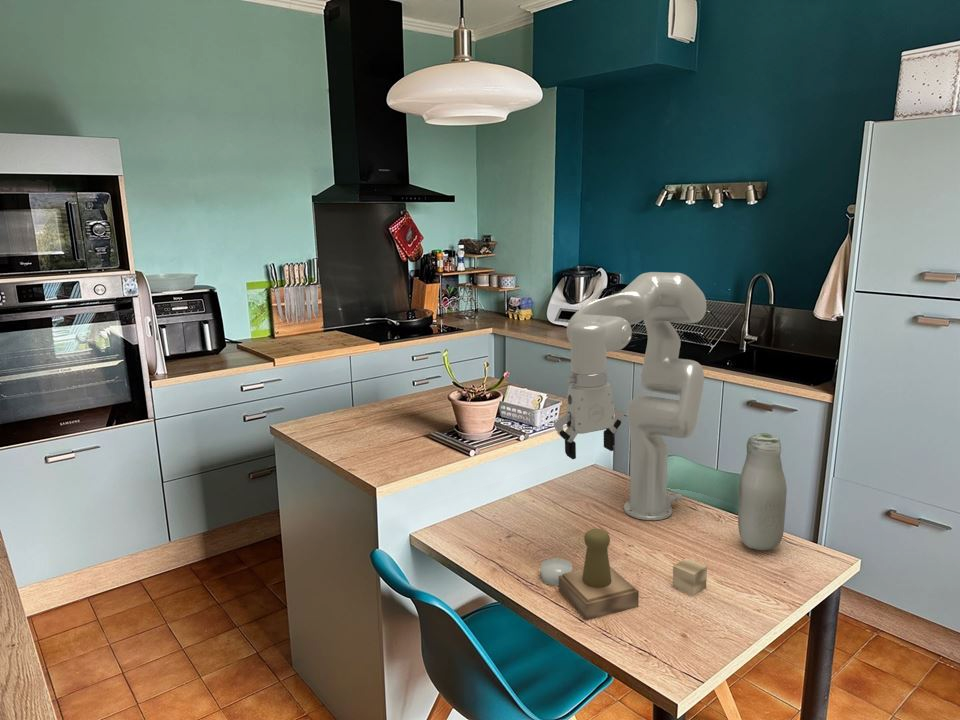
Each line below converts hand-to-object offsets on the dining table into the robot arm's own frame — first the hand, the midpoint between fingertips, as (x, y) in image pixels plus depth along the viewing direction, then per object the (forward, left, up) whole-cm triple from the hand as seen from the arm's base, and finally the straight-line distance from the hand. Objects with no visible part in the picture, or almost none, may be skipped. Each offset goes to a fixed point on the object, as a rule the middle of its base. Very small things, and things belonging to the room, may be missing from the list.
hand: (590, 453), depth 153 cm
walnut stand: (+6, +14, -27) cm, 30 cm away
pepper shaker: (+6, +13, -23) cm, 27 cm away
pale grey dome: (+10, +3, -27) cm, 29 cm away
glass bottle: (-40, +10, -27) cm, 49 cm away
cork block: (-14, +18, -27) cm, 35 cm away
